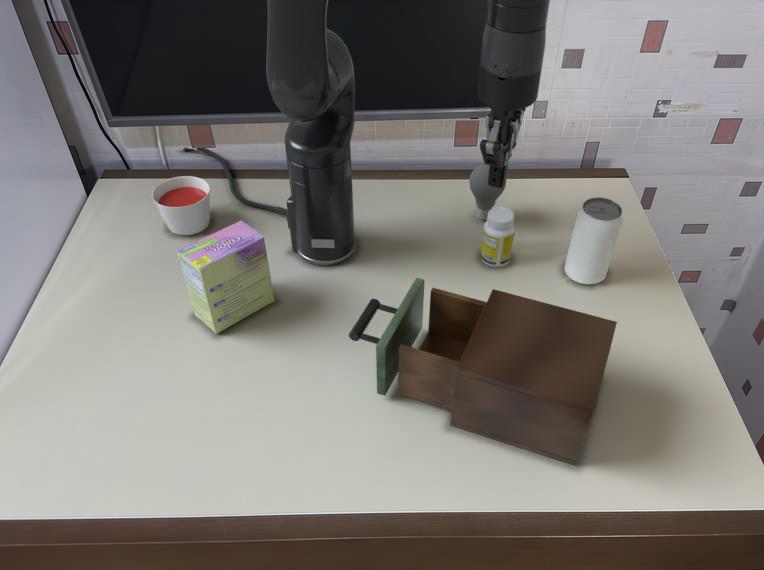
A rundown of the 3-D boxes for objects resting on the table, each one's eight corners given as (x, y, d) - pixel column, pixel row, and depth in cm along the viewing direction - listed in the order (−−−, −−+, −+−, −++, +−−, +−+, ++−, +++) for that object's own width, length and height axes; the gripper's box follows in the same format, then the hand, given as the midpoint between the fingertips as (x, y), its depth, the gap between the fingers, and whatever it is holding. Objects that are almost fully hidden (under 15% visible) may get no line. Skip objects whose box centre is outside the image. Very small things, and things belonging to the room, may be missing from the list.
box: (252, 283, 103) (240, 218, 94) (275, 301, 100) (265, 236, 91) (193, 315, 97) (175, 250, 89) (216, 335, 95) (199, 270, 86)
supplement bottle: (508, 249, 109) (515, 205, 103) (512, 267, 106) (519, 223, 100) (478, 249, 109) (483, 205, 103) (481, 267, 106) (487, 223, 100)
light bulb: (463, 208, 117) (468, 156, 110) (496, 206, 118) (504, 155, 110) (469, 228, 113) (474, 176, 106) (504, 227, 114) (512, 174, 106)
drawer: (339, 381, 88) (335, 333, 81) (380, 315, 97) (379, 267, 90) (485, 428, 83) (493, 380, 77) (514, 354, 92) (523, 306, 85)
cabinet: (449, 425, 84) (456, 367, 77) (484, 347, 94) (492, 288, 86) (574, 465, 81) (594, 409, 73) (597, 379, 90) (617, 321, 82)
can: (605, 289, 103) (625, 224, 94) (563, 283, 104) (579, 218, 95) (605, 262, 107) (624, 198, 99) (564, 257, 108) (580, 193, 99)
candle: (200, 244, 109) (192, 211, 104) (151, 234, 111) (141, 201, 106) (226, 213, 115) (219, 181, 110) (178, 204, 117) (170, 172, 112)
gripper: (498, 35, 87) (485, 156, 100) (464, 77, 79) (455, 203, 91) (555, 45, 85) (535, 167, 98) (526, 88, 77) (508, 215, 89)
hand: (496, 184), depth 94 cm, fingers closed
